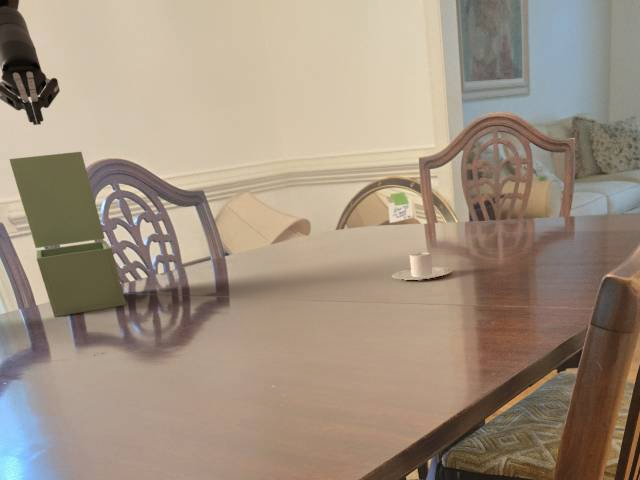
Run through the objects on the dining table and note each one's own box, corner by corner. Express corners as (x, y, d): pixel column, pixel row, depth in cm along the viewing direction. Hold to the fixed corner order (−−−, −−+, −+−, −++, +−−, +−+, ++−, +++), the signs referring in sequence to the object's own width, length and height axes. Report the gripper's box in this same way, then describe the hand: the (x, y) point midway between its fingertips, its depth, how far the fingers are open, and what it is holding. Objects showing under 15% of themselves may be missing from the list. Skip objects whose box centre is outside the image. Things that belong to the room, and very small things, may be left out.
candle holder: (412, 270, 159) (410, 248, 157) (463, 271, 154) (462, 248, 151) (380, 282, 151) (378, 259, 149) (433, 283, 145) (432, 259, 143)
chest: (126, 305, 155) (111, 248, 150) (54, 316, 151) (36, 258, 146) (119, 293, 168) (105, 240, 163) (52, 304, 164) (36, 250, 159)
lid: (81, 151, 157) (81, 152, 157) (8, 159, 152) (9, 159, 153) (104, 238, 162) (104, 238, 163) (35, 247, 158) (35, 248, 159)
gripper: (55, 69, 164) (74, 133, 159) (-12, 74, 160) (6, 139, 155) (47, 36, 157) (67, 102, 153) (-23, 41, 153) (-5, 108, 149)
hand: (36, 121), depth 154 cm, fingers closed
